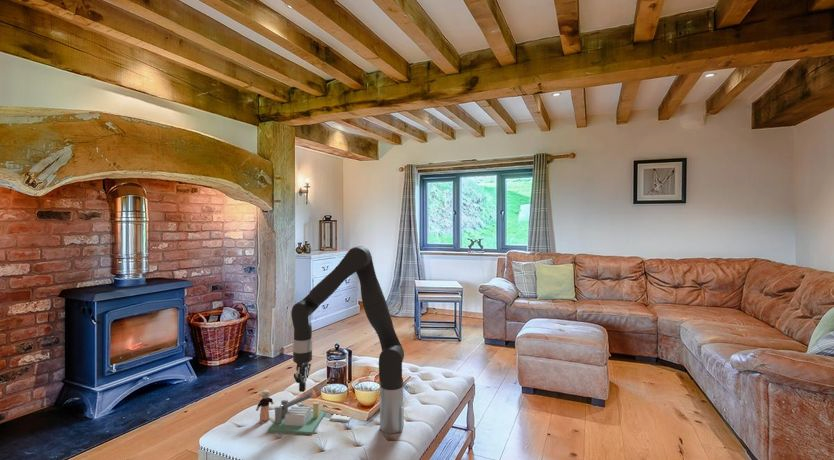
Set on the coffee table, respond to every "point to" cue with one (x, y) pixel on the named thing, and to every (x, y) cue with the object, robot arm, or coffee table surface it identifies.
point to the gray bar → (297, 400)
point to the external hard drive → (340, 418)
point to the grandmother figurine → (264, 406)
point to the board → (298, 428)
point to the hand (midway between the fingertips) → (302, 391)
